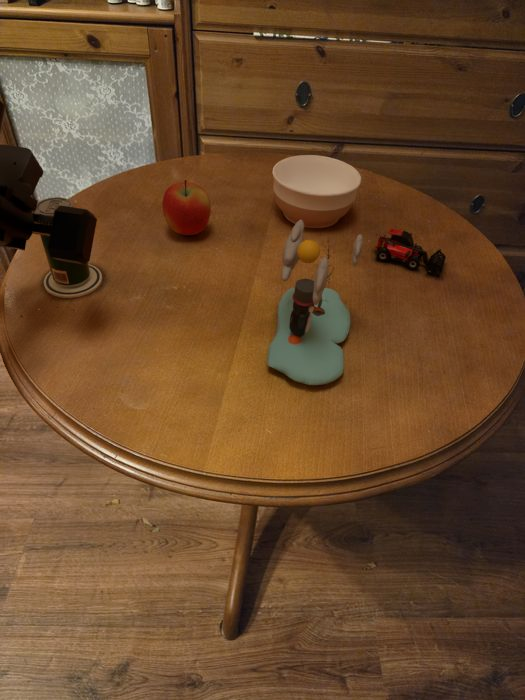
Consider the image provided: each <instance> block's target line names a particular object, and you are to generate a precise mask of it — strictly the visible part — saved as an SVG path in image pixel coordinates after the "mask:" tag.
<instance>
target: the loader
mask: <svg viewBox="0 0 525 700" xmlns="http://www.w3.org/2000/svg"><path fill="white" fill-rule="evenodd" d="M388 234H389V235H390V237H386V235H387V234H384V235H383V236H382V235H379V234H378V233H376V234H375V236H376V237H377V236H379V237H378V238H377V239H378V240H377V244H376V245H375V246H374V248H375V250H376V255H375V256H376V259H377V260H378V261H380V262H386V261H388V260H389V259H390V260H393V261H396V262H400V263H403V264H405V265H406V267H407V268H408V269H409V270H411V271H414V270H416V269H418V268H420V266H421V260H420V259H422V263H423V264H424V266H425V267H426V273H427V274H428V275H432V276H437V277H441V273H442V272H443V268H444V266H445V262H446V254H445V253H444V252H442V248H439V249H437V251H435V252H434V253H433V254H431V255H430V258H429V256H428V251H427V250H424V249H423V247H422V245H419V244H418V243H417V242H416V243H415V242H414V238H415V239H416V237H417V236H418V235H417V234H416V233H414V236H415V237H414V238H413V232H408V231H406V230H400V229H396V228H389V229H388ZM417 244H418V245H417Z"/></svg>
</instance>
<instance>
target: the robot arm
mask: <svg viewBox="0 0 525 700" xmlns="http://www.w3.org/2000/svg"><path fill="white" fill-rule="evenodd" d="M6 110H7V107H6V105H5V104H4V103H3V102H2V101H1V100H0V140H1V138H2V134H3V133H2V132H3V126H4V121H5V117H6ZM43 176H44V169H43V167H42V166H41V164H40V163H39V161H38V159H37V157H36V156H35V154H34V153H33V151H32V150H31V149H30V148H28V147H22V146H17V145H16V146H15V145H10V144H0V247H1V248H6V249H7V248H8V249H13V250H18V251H19V250H20V251H25V250H26V246H27V241H29V240H30V239H31V237H32V236H33V235H39V236H40V235H45V236H50V238H49V244H48V250H49V254H50V257H51V258H54V259H57V260H60V261H65V262H71V263H78V264H84V265H85V264H86V263H87V262H88V263H89V262H90V261H91V255H92V250H93V244H94V239H95V234H96V228H97V222H98V218H97V217H96V216H95V214H94V213H93V212H92V211H90V210H88V209H87V208H82V207H81V208H79V207H75V206H74V207H75V208H74V207H68V206H61V205H60V206H59V207H58V208H57V209H56V210H55V211H54V216H47V215H40V214H35V211H36V208H37V203H38V202H39V201H38V199H36V198H34V197H33V196H32V195H34V192H35V191H36V188H37V187H38V183H39V181H40V179H41V178H43ZM33 212H34V213H33ZM37 223H40V224H37ZM41 223H42V224H41ZM44 223H45V224H46V225H44ZM47 223H48V225H47ZM50 224H51V225H52V226H50Z"/></svg>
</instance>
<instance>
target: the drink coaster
mask: <svg viewBox="0 0 525 700" xmlns="http://www.w3.org/2000/svg"><path fill="white" fill-rule="evenodd" d="M88 265H89V270H90V275H89V279H88V281H87V282H86V283H85V284H83V285H82V286H79V287H76V288H64V287H61V286H59V285H58V284H57V283H56V282H55V281H54V280H53V277H52V274H51V270H49V272H48V273H47V274H46V275H45V277H44V278H43V279H44V280H43V286H44V289H45V290H46V292H48V294H50V295H52V296H54V297H57V298H62V299H73V298H80V297H84V296H87V295H89V294H90V293H93V292H94V291H96V290H97V289H98V288H99V287H100V286H101V284H102V282H103V275H102V272H101V270H100V269H99V268H98V267H96V266H95V265H93V264H90V263H88Z"/></svg>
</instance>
